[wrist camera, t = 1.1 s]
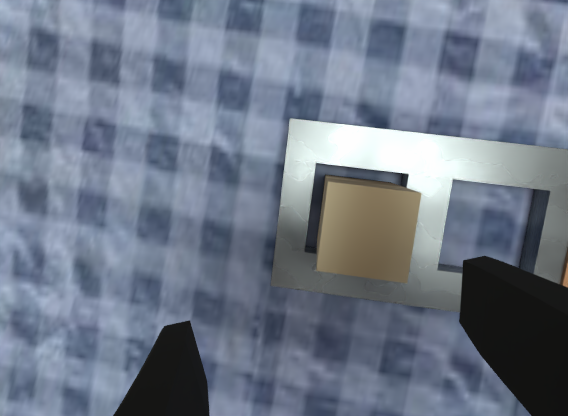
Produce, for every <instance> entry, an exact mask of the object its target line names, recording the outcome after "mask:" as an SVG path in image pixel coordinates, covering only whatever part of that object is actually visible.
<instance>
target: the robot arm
mask: <svg viewBox="0 0 568 416" xmlns="http://www.w3.org/2000/svg"><path fill="white" fill-rule="evenodd" d="M459 322H460V324H461V325H462V327H463V329H464V330H465V332H466V333H467V335H468V337H469V338H470V340H471V341H472V343H473V344H474V346H475V347H476V349H477V350H478V352H479V353H480V355H481V356H482V357H483V359H484V360H485V361H486V362H487V363H488V365H489V366H490V367H491V368H492V369H493V371H494V372H495V373H496V374H497V375H498V377H499V378H500V379H501V380H502V381H503V383H504V384H505V385H506V386H507V387H508V388H509V390H510V391H511V392H512V393H513V394H514V396H515V397H516V398H517V399H518V400H519V401H520V403H521V404H522V405H523V406H524V407H525V408H526V410H527V411H528V412H529V413H530V414H531V416H568V287H565V286H563V285H560V284H558V283H555V282H553V281H550V280H548V279H545V278H542V277H540V276H537V275H535V274H532V273H530V272H527V271H525V270H522V269H520V268H517V267H515V266H512V265H509V264H507V263H504V262H501V261H499V260H496V259H493V258H490V257H487V256H482V257H477V258H473V259H468V260H464V261H463V272H462V288H461V303H460V319H459ZM113 416H209V401H208V386H207V379H206V376H205V372H204V369H203V365H202V362H201V358H200V355H199V351H198V348H197V344H196V341H195V337H194V334H193V330H192V327H191V323H190V321H185V322H181V323H176V324H172V325H167V326H164V328H163V329H162V330H161V332H160V334H159V336H158V338H157V340H156V342H155V344H154V346H153V348H152V350H151V352H150V353H149V355H148V357H147V359H146V361H145V363H144V365H143V366H142V368H141V370H140V372H139V374H138V375H137V377H136V379H135V380H134V382H133V384H132V386H131V387H130V389H129V391H128V392H127V394H126V396H125V398H124V399H123V401H122V403H121V404H120V406H119V407H118V409H117V411H116V412H115V414H114V415H113Z"/></svg>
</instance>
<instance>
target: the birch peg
mask: <svg viewBox="0 0 568 416" xmlns="http://www.w3.org/2000/svg"><path fill="white" fill-rule="evenodd" d="M421 194H422V193H420V192H417V191H414V190H411V189H408V188H405V187H402V186H399V185H396V184H393V183H391V182H383V181H374V180H366V179H358V178H350V177H341V176H333V175H325V182H324V189H323V197H322V205H321V212H320V220H319V228H318V235H317V265H316V271H321V272H329V273H336V274H343V275H350V276H358V277H365V278H372V279H379V280H387V281H394V282H401V283H407V281H408V275H409V269H410V262H411V256H412V250H413V244H414V238H415V232H416V225H417V219H418V213H419V207H420V201H421Z"/></svg>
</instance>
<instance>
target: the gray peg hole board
mask: <svg viewBox="0 0 568 416" xmlns="http://www.w3.org/2000/svg"><path fill="white" fill-rule="evenodd" d="M316 163H322V164H330V165H338V166H347V167H355V168H364V169H372V170H380V171H389V172H397V173H403V177H402V183H401V186H402V187H405V188H408V189H411V190H414V191H417V192H420V193H422V194H421V201H420V207H419V213H418V219H417V225H416V232H415V238H414V244H413V250H412V256H411V262H410V269H409V275H408V281H407V283H401V282H394V281H387V280H379V279H372V278H365V277H358V276H350V275H343V274H336V273H329V272H321V271H316V265H317V248H314V247H306V238H307V230H308V222H309V214H310V206H311V198H312V190H313V182H314V175H315V167H316ZM453 179H456V180H464V181H473V182H481V183H490V184H498V185H506V186H515V187H523V188H532V189H535V190H534V195H533V200H532V205H531V210H530V216H529V221H528V226H527V231H526V236H525V241H524V246H523V251H522V256H521V261H520V266H519V268H520V269H522V270H525V271H527V272H530V273H532V274H535V275H537V276H540V277H542V278H545V279H548V280H550V281H553V282H555V283H558V284H560V285H563V286H565V287H568V150H567V149H558V148H549V147H540V146H531V145H522V144H513V143H504V142H495V141H486V140H478V139H469V138H460V137H451V136H442V135H433V134H424V133H415V132H406V131H397V130H388V129H379V128H370V127H361V126H352V125H343V124H335V123H326V122H317V121H308V120H299V119H290V124H289V132H288V141H287V150H286V158H285V167H284V175H283V184H282V192H281V201H280V209H279V218H278V227H277V235H276V244H275V252H274V261H273V269H272V278H271V286H276V287H283V288H290V289H297V290H304V291H311V292H318V293H325V294H332V295H339V296H346V297H354V298H361V299H368V300H375V301H382V302H389V303H396V304H403V305H410V306H417V307H424V308H431V309H438V310H445V311H452V312H460V303H461V288H462V272H463V267H456V266H449V265H441V264H438V263H439V257H440V251H441V245H442V239H443V233H444V227H445V222H446V216H447V210H448V204H449V198H450V192H451V186H452V181H453Z"/></svg>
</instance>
